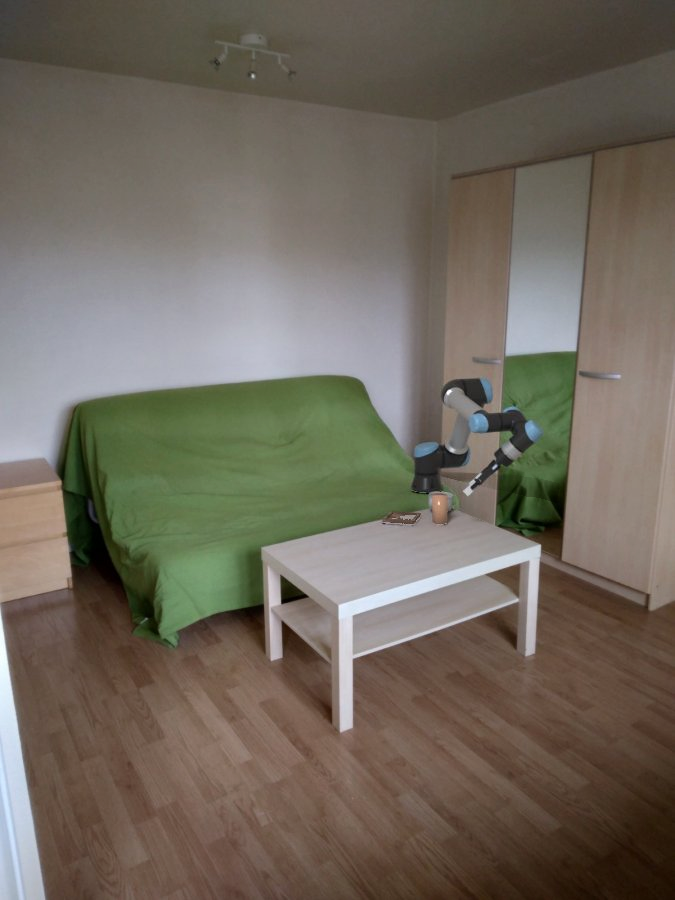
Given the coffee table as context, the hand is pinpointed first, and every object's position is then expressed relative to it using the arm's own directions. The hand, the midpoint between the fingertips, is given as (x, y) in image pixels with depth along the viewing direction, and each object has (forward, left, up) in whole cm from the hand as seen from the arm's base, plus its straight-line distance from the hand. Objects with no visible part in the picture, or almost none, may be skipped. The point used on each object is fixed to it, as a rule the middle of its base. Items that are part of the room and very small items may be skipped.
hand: (468, 489), depth 260 cm
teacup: (-16, -16, -15) cm, 27 cm away
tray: (0, -28, -15) cm, 31 cm away
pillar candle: (0, -12, -15) cm, 19 cm away
